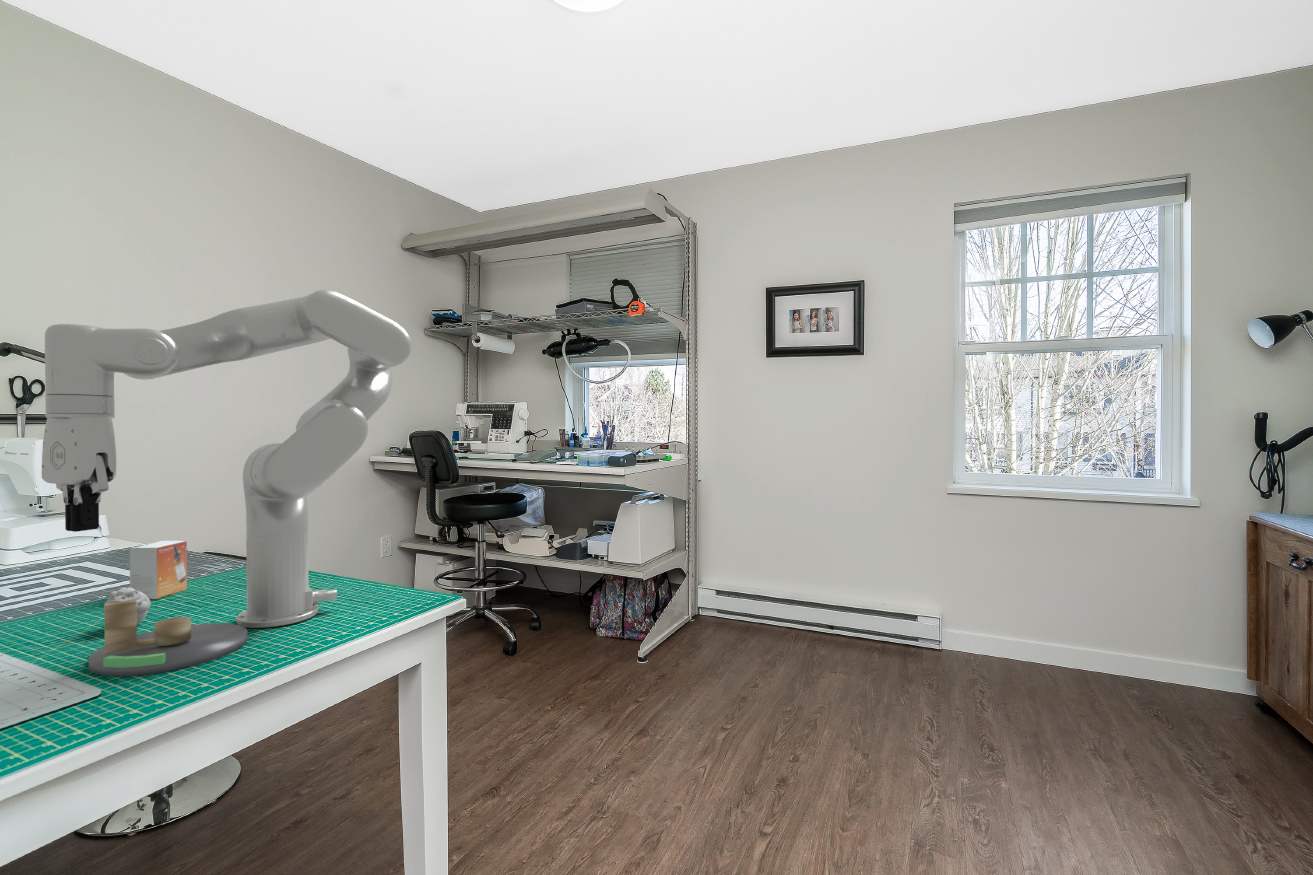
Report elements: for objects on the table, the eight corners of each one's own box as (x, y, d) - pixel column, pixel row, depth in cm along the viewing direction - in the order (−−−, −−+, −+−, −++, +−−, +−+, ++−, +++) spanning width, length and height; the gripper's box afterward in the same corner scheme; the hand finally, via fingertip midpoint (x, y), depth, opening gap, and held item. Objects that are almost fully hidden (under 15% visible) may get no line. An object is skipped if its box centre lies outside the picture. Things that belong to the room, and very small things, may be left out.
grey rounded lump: (93, 635, 100) (93, 593, 100) (118, 622, 107) (118, 583, 107) (137, 632, 102) (137, 591, 102) (159, 619, 108) (159, 580, 108)
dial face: (241, 622, 107) (241, 609, 107) (253, 654, 92) (253, 638, 92) (95, 647, 95) (94, 632, 95) (81, 688, 80) (81, 670, 80)
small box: (156, 600, 121) (156, 547, 120) (128, 599, 121) (128, 547, 120) (188, 589, 129) (187, 540, 128) (162, 589, 129) (161, 540, 128)
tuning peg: (190, 633, 96) (190, 590, 96) (191, 641, 93) (190, 596, 93) (106, 647, 90) (105, 601, 90) (103, 656, 87) (103, 608, 87)
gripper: (19, 407, 90) (21, 530, 90) (79, 406, 85) (81, 537, 85) (82, 409, 97) (83, 523, 97) (141, 408, 92) (142, 529, 92)
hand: (82, 529), depth 91 cm, fingers closed
